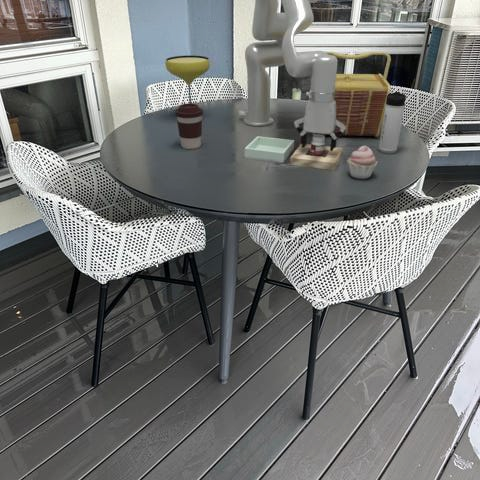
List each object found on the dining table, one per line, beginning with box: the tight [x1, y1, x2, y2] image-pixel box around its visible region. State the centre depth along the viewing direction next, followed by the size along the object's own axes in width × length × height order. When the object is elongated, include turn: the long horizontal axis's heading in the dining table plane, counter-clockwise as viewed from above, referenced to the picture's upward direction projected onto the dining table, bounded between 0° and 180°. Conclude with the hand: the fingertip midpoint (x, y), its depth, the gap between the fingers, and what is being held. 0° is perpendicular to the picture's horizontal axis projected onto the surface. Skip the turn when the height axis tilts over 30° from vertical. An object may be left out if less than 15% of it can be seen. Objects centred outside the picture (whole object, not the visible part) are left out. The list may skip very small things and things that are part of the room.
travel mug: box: [378, 91, 407, 155], centre depth 157 cm, size 6×7×20 cm
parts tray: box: [244, 135, 295, 164], centre depth 160 cm, size 14×14×4 cm
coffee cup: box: [174, 102, 204, 150], centre depth 164 cm, size 10×10×15 cm
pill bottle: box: [310, 134, 326, 157], centre depth 153 cm, size 5×5×8 cm
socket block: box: [289, 143, 344, 171], centre depth 155 cm, size 15×15×2 cm
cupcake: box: [346, 145, 378, 180], centre depth 141 cm, size 9×9×10 cm
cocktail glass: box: [165, 55, 211, 119], centre depth 191 cm, size 18×18×25 cm
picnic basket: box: [310, 50, 392, 138], centre depth 175 cm, size 29×26×30 cm
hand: (317, 148), depth 153 cm, fingers open, 9 cm apart
